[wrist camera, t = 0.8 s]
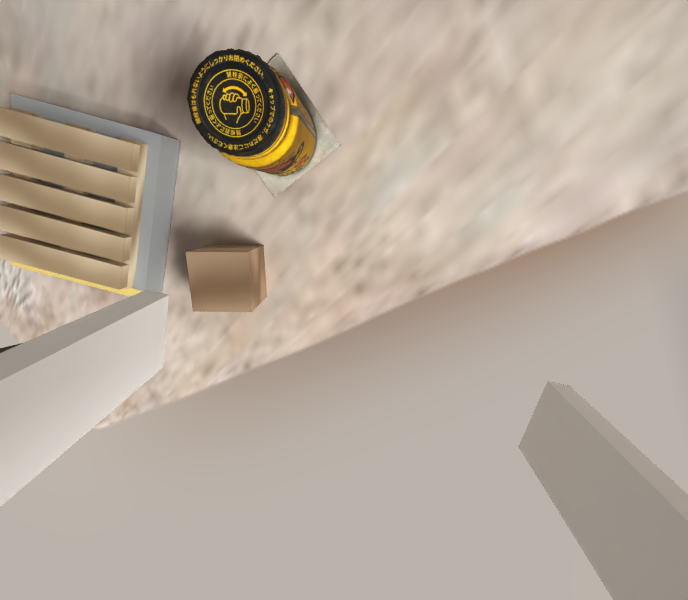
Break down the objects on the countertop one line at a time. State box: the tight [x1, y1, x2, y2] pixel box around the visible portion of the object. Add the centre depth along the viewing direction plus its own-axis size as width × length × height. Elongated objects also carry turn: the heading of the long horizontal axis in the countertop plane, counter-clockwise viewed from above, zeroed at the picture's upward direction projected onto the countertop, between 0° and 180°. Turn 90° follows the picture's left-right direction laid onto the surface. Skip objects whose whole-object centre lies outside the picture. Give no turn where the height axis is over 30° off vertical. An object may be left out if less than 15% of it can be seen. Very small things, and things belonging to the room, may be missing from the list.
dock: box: [10, 93, 181, 296], centre depth 31 cm, size 14×12×3 cm
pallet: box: [0, 107, 148, 290], centre depth 28 cm, size 12×10×2 cm
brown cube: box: [186, 245, 267, 312], centre depth 31 cm, size 5×5×5 cm
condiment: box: [187, 48, 340, 197], centre depth 24 cm, size 7×8×12 cm
